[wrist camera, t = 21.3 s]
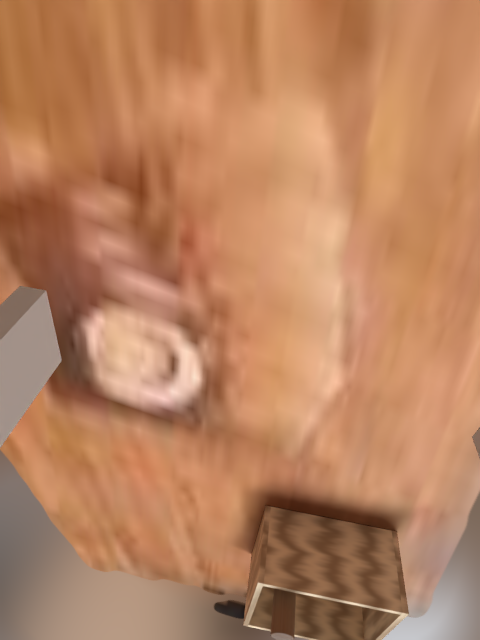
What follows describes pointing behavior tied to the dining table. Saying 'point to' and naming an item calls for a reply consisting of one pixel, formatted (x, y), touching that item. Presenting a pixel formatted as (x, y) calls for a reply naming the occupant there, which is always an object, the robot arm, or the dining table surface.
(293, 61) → the dining table surface
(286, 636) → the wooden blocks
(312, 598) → the zigzag patterned box
